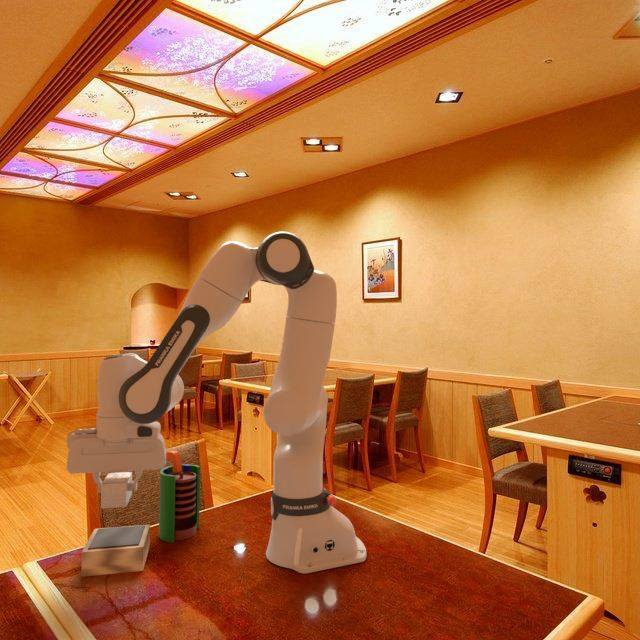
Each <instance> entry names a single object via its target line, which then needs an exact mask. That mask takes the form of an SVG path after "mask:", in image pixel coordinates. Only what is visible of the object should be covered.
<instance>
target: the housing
mask: <svg viewBox="0 0 640 640" xmlns="http://www.w3.org/2000/svg"><path fill="white" fill-rule="evenodd" d="M130 481H133V471H118V472H107V474H106V476H105V478H104V480H102V484H101V493H100V509H115V508H126V507H127V506H128V504H129V502H130V499H131V497H132V495H133V491H129V488H130V487H129V483H130Z"/></svg>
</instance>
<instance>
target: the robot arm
mask: <svg viewBox="0 0 640 640" xmlns="http://www.w3.org/2000/svg"><path fill="white" fill-rule="evenodd" d="M260 281H261V282H265V283H269V284H272V285H276V286H283V287H284V288H285V290H286V292H287V295H288V296H287V297H288V304H287V311H286V317H285V323H284V330H283V337H282V343H281V350H280V355H279V358H278V362H277V364H276V368H275V371H274V374H273V377H272V382H271V386H270V389H269V393H268V396H267V398H266V401H265V403H264V407H263V418H264V421H265V423H266V425H267V427H268V428H269V429H270V430H271V431H272V432H273V433H275V434H277V435H278V436H277V443H276V446H275V451H274V454H273V489H272V490H271V497H270V514H271V519H272V520H271V528H270V535H269V541H268V545H267V548H266V551H265V557H266V559H267V560H268V561H269V562H270V563H272V564H274V565H276V566H279V567H283V568H286V569H291V570H294V571H295V572H297V573H299V574H310V573H316V572H319V571H324V570H330V569H334V568H339V567H344V566H349V565H355V564H358V563H364V562H365V561H366V559H367V556H368V554H367V548H366V546H365V544H364V543H363V541H362V540H361V539H360V538H359V537H357V536H356V531H355V528H354V525H353V524H352V522H351V520H350V519H349V518H348V517H347V516H346V515H345V514H343V513H342V512H340V511H339V510H337V509H336V508H335V506H336V505H337V502H338V499H337V498H336V497H335V495H334V494H331V492H330V491H328V489H326V488H325V487H323V471H324V470H323V465H324V464H323V462H324V459H323V458H324V456H323V455H324V446H325V439H326V438H325V437H326V427H327V415H328V403H329V396H328V393H327V390H326V388H325V386H324V385H323V383H324V379H325V376H326V371H327V368H328V365H329V362H330V358H331V353H332V346H333V338H334V332H335V326H336V317H337V305H338V304H337V303H338V302H337V300H338V299H337V298H338V297H337V282H336V281H335V279H334V278H333V277H332V276H331V275H330V274H328V273H326V272H324V271H321V270H316V269H315V267H314V264H313V261H312V259H311V256H310V253H309V251H308V247H307V246H306V244H305V243H304V241H303V240H302V239H301V238H300V237H299V236H297V235H296V234H294V233H292V232H289V231H277V232H273V233H271V234H269V235H267V237H265V238H264V239H263V240H262V241H261V243H260V245H259V246H258V247H250V246H248V245H247V244H245V243H242V242H239V241H232V240H231V241H226V242H225V243H223V244H222V245H221V246H220V247H219V248H218V249H216V251H215V252H214V254H212V256H211V257H210V259H209V260H208V261H207V262H206V264H205V265H204V267H203V268H202V270H201V271H200V272H199V275H198V276H197V278H195V281H194V282H193V284H192V286H191V288H190V290H189V292H188V294H187V296H186V299H185V301H184V302H183V305H182V307H181V309H180V311H179V312H178V315H177V316H176V319H174V322H173V323H172V325H171V326H170V328H169V329H168V331H167V333H166V334H165V335H164V337H163V339H162V340H161V341H160V343H159V344H158V346H157V348H156V350H155V351H154V352H153V354H152V355H151V357H150V358H149V360H144V359H143V358H141V357H140V355H139V354H137V353H134V352H128V353H127V352H126V353H122V354H116V355H110V356H107V357H105V358H104V359H102V360H101V361H100V364H99V366H98V372H97V381H96V397H97V401H98V408H97V411H96V427H94V428H93V427H92V428H75V429H74V430H72V431H71V432H69V433H68V434H67V436H66V446H67V448H68V453H67V458H66V459H67V460H66V470H67V472H68V473H69V474H70V475H71V474H73V475H74V474H89V473H90V474H91V473H92V475H91V477H92V480H93V481H94V482H95V484H96V486H97V494H98V493H99V494H101V484H102V482H103V480H102V478H101V477H100V476H101V475H102V473H106V472H107V473H116V472H133V471H134V475H135V476H136V477H135V478H134V480H132V481H130V483H129V487H130V488H129V491H132V492H133V491H135V492H136V491H137V490H138V482H139V480H140V478H141V477H142V475H143V472H144V471H151V470H161V469H163V468H165V467H166V464H167V461H166V452H167V448H166V447H167V446H166V442H165V438H164V436H163V435H162V433H161V430H162V429H161V428H162V426H161V422H159V421H158V420H160V419H161V418H163V416H164V415H165V414H167V413H168V412H169V411H171V410H172V409H173V408H175V407H176V406H177V405H178V404H179V403H180V402H181V400H182V399H184V398H183V397H184V394H185V383H184V380H183V378H182V377H181V376H180V372H181V371H182V369H183V368H184V366H185V365H186V363H187V361H188V360H189V358H190V356H191V355H192V353H193V352H194V350H196V348H197V347H198V345H200V343H202V342H203V341H204V340H205V339H206V338H207V337H209V336H210V335H211V334H213V333H215V332H217V331H219V330H220V329H222V328H224V326H225V325H226V324H227V323H228V322H229V321H230V319H232V318H233V317H234V315H235V314H236V312H237V311H238V309H239V308H240V307H241V305H242V304H243V302H244V300H245V298H246V296H247V295H248V293H249V291H250V290H251V288H253V286H254V285H255V284H256V283H257V282H260Z"/></svg>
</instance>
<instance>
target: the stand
mask: <svg viewBox="0 0 640 640" xmlns="http://www.w3.org/2000/svg"><path fill="white" fill-rule="evenodd" d="M150 545H151V524H140V525H128V526H126V525H125V526H115V527H113V526H112V527H102V528H101V527H99V528H94V529H93V531H92V532H91V534H90V537H89V538H88V539H87V541H86V544H85V545H84V547H83V549H82V550H81V559H80V560H81V565H80V566H81V568H80V569H81V570H80V571H81V572H80V573H81V577H82V578H84V577H93V576H104V575H114V574H123V573H134V572H136V573H137V572H143V571H144V568H145V565H146V561H147V558H148V553H149V551H150V548H151V547H150Z"/></svg>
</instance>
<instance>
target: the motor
mask: <svg viewBox="0 0 640 640" xmlns="http://www.w3.org/2000/svg"><path fill="white" fill-rule="evenodd" d="M169 461H170V462H171V463H172V465H170V466H169V465H168V466H164V467H163V468H162V469H159V503H158V504H159V506H158V508H159V510H158V512H159V513H158V538H159V539H160V540H161V541H163V542H167V543H174V542H175V541H183V540H187V539H191V538H193V537H194V536H196V535H197V529H199V528H200V499H201V498H200V495H201V494H200V493H201V466H199V465H196V464H189V463H188V464H186V463H182V459H181V456H180V453H179V451H177V450H168V451H166V462H169Z"/></svg>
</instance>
